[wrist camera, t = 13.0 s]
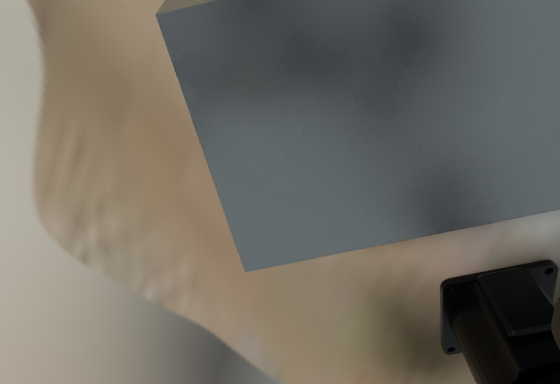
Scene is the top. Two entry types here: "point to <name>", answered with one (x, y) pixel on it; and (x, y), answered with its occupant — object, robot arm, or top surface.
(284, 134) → the slate unit
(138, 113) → the top surface
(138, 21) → the top surface
